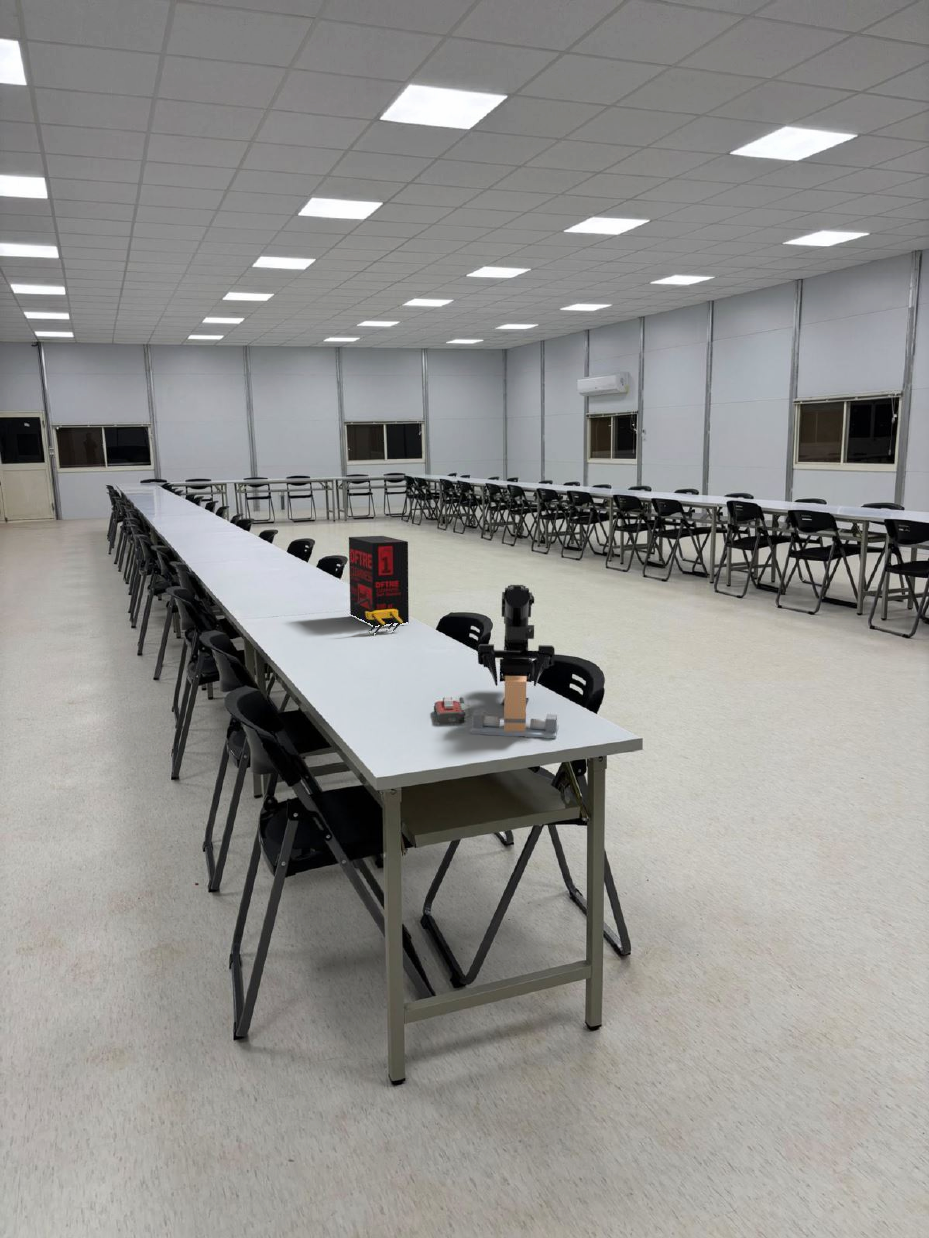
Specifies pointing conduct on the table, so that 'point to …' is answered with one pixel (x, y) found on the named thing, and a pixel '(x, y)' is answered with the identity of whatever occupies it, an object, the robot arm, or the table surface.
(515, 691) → the tan rectangular block
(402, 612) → the product box
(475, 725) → the grey holder base
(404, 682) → the table surface
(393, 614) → the robot dog
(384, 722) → the table surface
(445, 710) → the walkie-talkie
